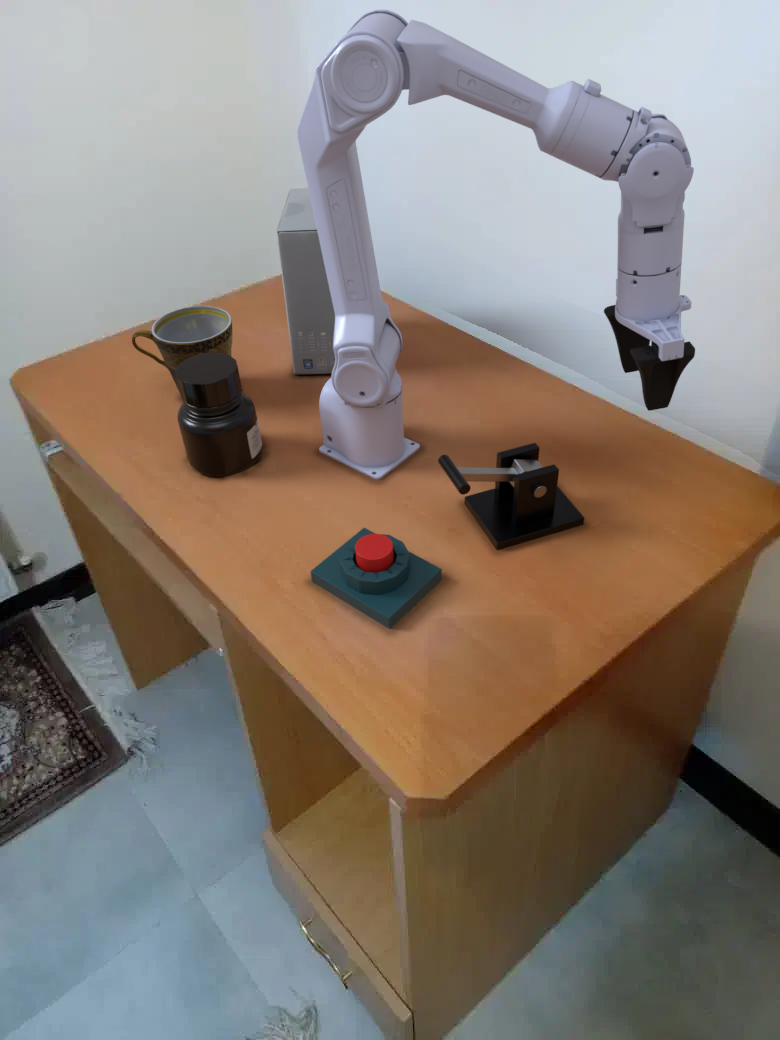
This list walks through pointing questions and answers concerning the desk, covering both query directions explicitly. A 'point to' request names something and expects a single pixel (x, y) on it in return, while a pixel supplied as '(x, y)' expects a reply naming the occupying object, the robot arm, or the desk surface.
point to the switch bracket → (523, 503)
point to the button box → (377, 581)
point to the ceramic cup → (188, 335)
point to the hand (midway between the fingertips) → (645, 387)
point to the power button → (374, 553)
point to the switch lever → (484, 472)
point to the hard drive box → (305, 287)
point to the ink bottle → (216, 416)
